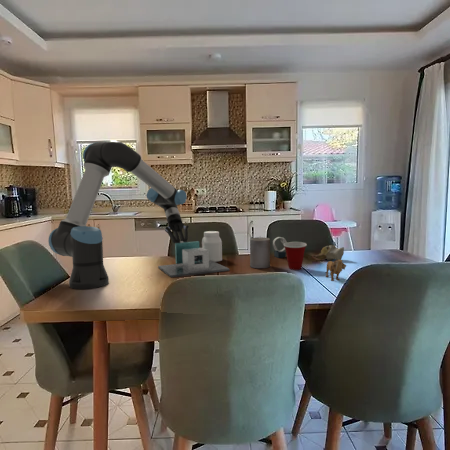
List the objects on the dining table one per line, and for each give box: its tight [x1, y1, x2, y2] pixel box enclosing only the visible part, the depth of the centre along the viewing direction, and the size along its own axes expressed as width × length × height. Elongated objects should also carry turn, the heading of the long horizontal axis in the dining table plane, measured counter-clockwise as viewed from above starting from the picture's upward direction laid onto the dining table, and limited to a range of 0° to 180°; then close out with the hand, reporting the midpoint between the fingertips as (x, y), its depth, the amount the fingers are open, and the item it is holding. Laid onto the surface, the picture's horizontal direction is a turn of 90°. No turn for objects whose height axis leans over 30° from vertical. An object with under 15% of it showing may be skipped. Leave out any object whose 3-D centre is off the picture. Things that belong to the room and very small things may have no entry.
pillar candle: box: [249, 236, 271, 269], centre depth 178 cm, size 10×10×15 cm
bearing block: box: [157, 247, 230, 279], centre depth 174 cm, size 28×22×10 cm
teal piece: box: [174, 240, 201, 264], centre depth 176 cm, size 12×12×10 cm
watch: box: [272, 236, 287, 259], centre depth 202 cm, size 6×8×11 cm
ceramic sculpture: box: [312, 243, 345, 261], centre depth 192 cm, size 11×9×15 cm
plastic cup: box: [283, 241, 308, 271], centre depth 172 cm, size 11×11×12 cm
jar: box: [201, 230, 223, 263], centre depth 196 cm, size 12×10×15 cm
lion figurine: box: [324, 259, 347, 282], centre depth 153 cm, size 15×5×9 cm, turn 11°
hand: (184, 252), depth 186 cm, fingers closed
